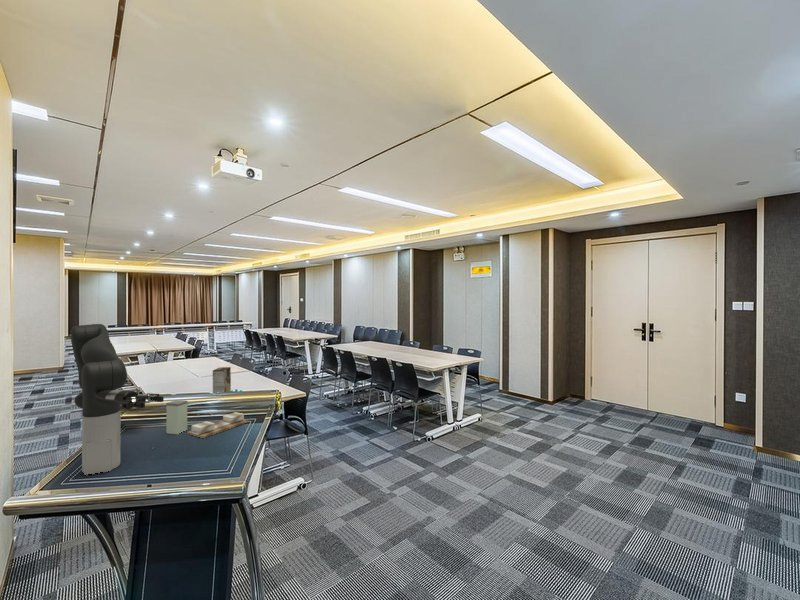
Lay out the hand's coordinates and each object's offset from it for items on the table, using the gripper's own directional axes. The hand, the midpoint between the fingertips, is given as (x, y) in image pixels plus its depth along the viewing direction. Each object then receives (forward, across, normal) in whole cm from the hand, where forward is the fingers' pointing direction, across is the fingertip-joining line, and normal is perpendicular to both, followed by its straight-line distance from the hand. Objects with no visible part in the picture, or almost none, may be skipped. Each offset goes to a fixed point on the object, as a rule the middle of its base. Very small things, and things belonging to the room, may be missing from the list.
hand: (153, 402), depth 145 cm
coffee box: (-7, +48, +12) cm, 50 cm away
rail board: (+26, +6, +11) cm, 29 cm away
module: (+12, 0, +11) cm, 16 cm away
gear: (+11, +38, +12) cm, 41 cm away
